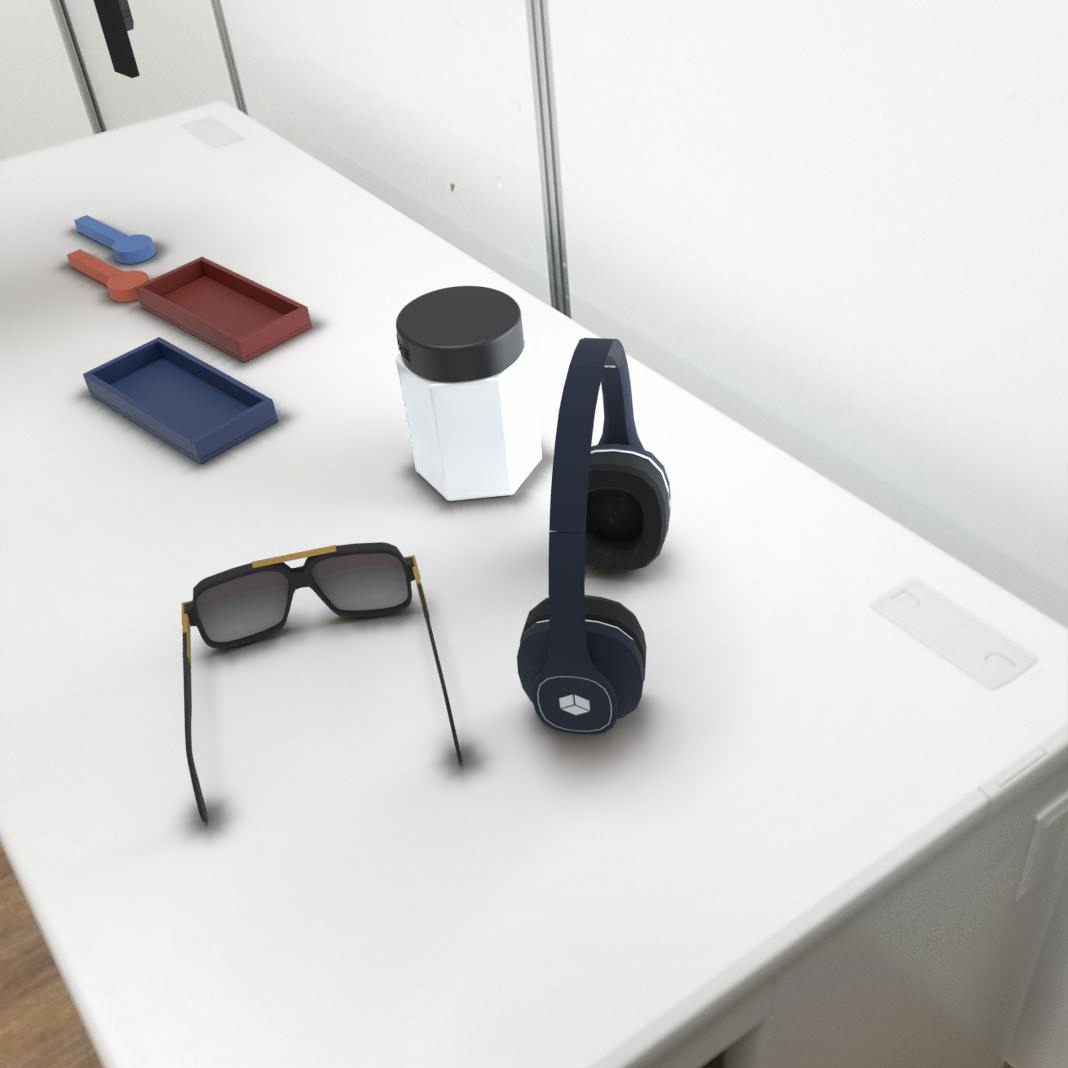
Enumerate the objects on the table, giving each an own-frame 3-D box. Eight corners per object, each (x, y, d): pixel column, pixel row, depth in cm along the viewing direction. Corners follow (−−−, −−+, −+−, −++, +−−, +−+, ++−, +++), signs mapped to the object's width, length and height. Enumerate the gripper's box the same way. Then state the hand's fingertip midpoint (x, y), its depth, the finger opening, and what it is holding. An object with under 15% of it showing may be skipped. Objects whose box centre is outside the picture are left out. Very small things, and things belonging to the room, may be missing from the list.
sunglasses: (203, 825, 65) (176, 764, 62) (196, 634, 76) (173, 573, 73) (463, 765, 67) (452, 702, 64) (420, 587, 78) (408, 526, 75)
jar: (459, 420, 92) (437, 273, 84) (557, 443, 89) (545, 292, 81) (396, 489, 86) (366, 338, 78) (500, 515, 83) (480, 361, 75)
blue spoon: (67, 235, 118) (63, 224, 118) (100, 222, 120) (96, 210, 120) (129, 268, 113) (125, 255, 112) (163, 253, 115) (159, 240, 114)
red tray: (140, 307, 107) (133, 287, 106) (207, 275, 111) (202, 256, 110) (244, 362, 100) (238, 342, 98) (312, 327, 103) (307, 306, 102)
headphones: (572, 522, 82) (551, 270, 70) (675, 527, 82) (673, 273, 69) (515, 750, 68) (477, 483, 56) (640, 760, 67) (629, 490, 55)
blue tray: (90, 394, 97) (82, 373, 96) (165, 357, 101) (159, 336, 100) (201, 464, 89) (193, 442, 88) (278, 420, 93) (272, 399, 92)
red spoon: (60, 271, 113) (55, 259, 112) (94, 256, 115) (90, 244, 114) (124, 306, 108) (120, 294, 107) (160, 290, 109) (156, 277, 109)
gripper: (-202, -165, 79) (-67, 160, 93) (135, -231, 92) (208, 63, 106) (-249, -177, 83) (-113, 137, 97) (81, -239, 96) (158, 45, 110)
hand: (55, 99), depth 102 cm, fingers open, 13 cm apart
